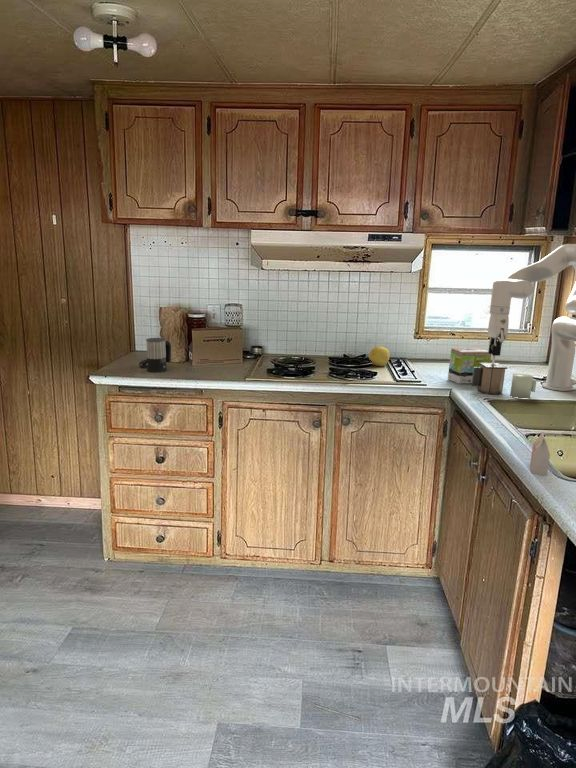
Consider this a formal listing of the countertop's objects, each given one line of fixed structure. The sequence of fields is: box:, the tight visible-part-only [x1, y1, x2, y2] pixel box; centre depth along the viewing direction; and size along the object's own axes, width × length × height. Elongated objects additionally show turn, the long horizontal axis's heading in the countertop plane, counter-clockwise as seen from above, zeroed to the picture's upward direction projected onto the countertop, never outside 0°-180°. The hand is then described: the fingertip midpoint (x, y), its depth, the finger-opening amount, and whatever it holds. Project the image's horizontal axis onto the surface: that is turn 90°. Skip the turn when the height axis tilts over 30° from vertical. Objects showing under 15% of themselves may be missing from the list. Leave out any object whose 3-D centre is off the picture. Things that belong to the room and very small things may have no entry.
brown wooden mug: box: [471, 362, 508, 396], centre depth 223 cm, size 13×10×12 cm
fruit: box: [368, 346, 391, 367], centre depth 270 cm, size 10×11×10 cm
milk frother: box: [138, 337, 172, 373], centre depth 248 cm, size 14×16×15 cm
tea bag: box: [529, 431, 551, 477], centre depth 141 cm, size 4×7×10 cm, turn 158°
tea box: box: [447, 347, 492, 384], centre depth 241 cm, size 15×10×15 cm, turn 106°
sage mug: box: [509, 373, 538, 399], centre depth 216 cm, size 9×8×9 cm
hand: (494, 354), depth 220 cm, fingers closed on plunger, 3 cm apart
